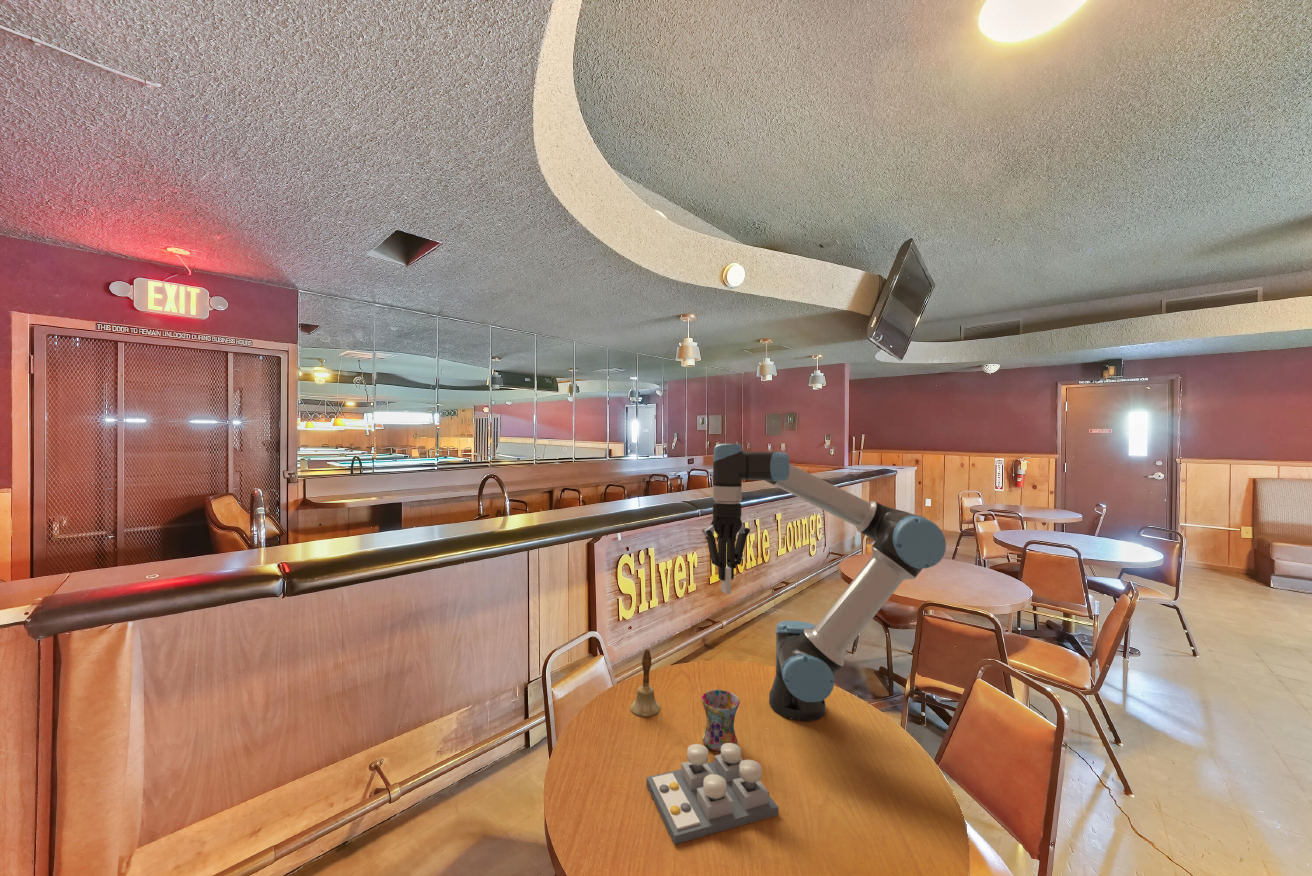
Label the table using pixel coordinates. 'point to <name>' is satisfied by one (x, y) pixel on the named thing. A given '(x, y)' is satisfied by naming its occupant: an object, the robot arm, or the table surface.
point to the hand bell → (645, 692)
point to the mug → (719, 718)
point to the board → (707, 801)
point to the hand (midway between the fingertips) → (725, 592)
